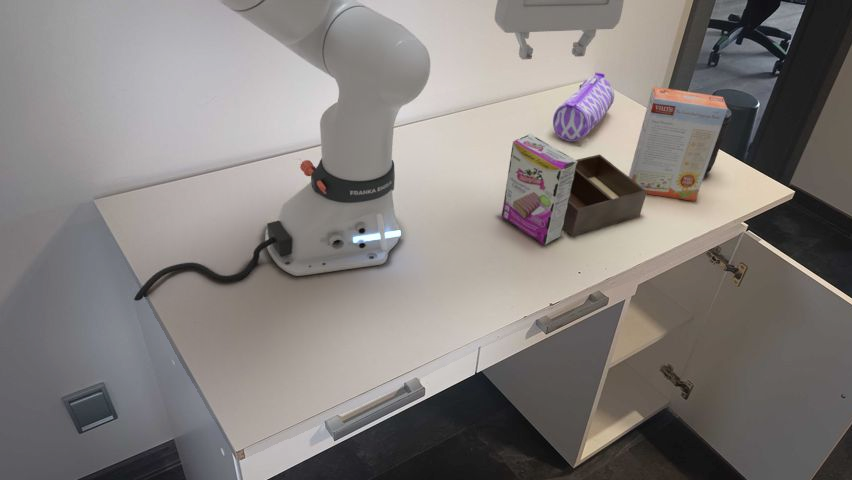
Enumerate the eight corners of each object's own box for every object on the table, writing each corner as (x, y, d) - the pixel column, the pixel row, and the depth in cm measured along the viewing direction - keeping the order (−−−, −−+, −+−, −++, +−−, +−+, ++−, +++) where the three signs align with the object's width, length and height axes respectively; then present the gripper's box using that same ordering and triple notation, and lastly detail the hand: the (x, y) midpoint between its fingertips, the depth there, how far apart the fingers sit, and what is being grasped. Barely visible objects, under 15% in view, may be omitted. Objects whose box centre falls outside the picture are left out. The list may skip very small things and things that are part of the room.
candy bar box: (499, 218, 128) (511, 140, 117) (517, 209, 131) (530, 132, 120) (544, 247, 123) (560, 168, 112) (561, 237, 126) (579, 159, 115)
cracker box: (692, 187, 145) (724, 95, 132) (695, 202, 141) (729, 109, 127) (627, 176, 145) (652, 84, 132) (628, 191, 141) (655, 97, 127)
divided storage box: (571, 236, 126) (577, 210, 123) (527, 195, 135) (532, 169, 131) (639, 216, 134) (647, 191, 130) (593, 178, 143) (599, 154, 139)
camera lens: (666, 163, 152) (686, 100, 142) (697, 160, 154) (718, 99, 145) (685, 182, 146) (707, 119, 137) (716, 179, 149) (740, 117, 139)
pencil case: (577, 102, 170) (584, 65, 164) (612, 112, 168) (621, 76, 162) (547, 138, 154) (554, 99, 148) (586, 150, 152) (594, 111, 146)
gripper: (511, -29, 93) (499, 68, 102) (637, -29, 101) (615, 61, 110) (493, -43, 98) (483, 51, 107) (615, -42, 105) (596, 46, 114)
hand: (551, 56), depth 108 cm, fingers open, 8 cm apart
